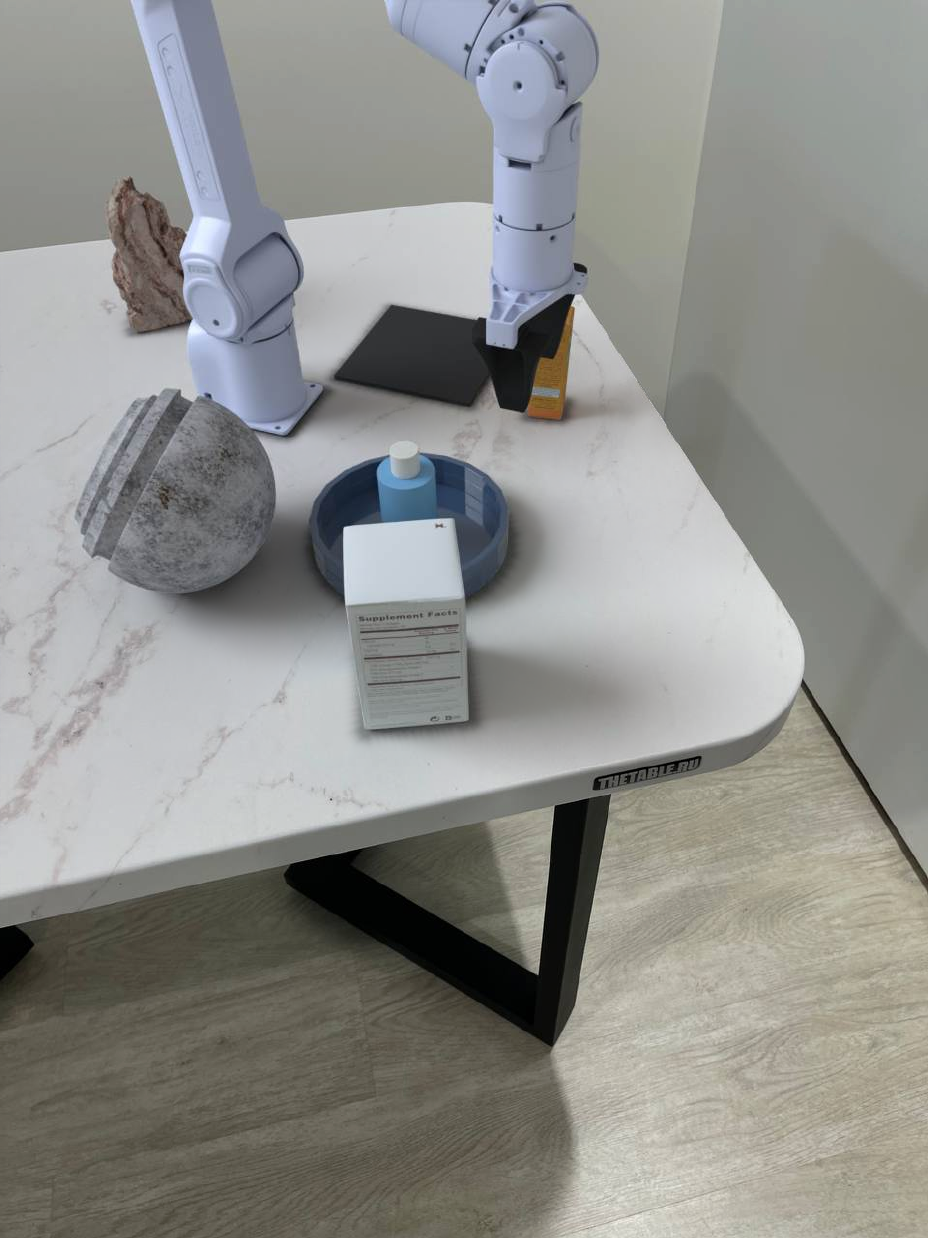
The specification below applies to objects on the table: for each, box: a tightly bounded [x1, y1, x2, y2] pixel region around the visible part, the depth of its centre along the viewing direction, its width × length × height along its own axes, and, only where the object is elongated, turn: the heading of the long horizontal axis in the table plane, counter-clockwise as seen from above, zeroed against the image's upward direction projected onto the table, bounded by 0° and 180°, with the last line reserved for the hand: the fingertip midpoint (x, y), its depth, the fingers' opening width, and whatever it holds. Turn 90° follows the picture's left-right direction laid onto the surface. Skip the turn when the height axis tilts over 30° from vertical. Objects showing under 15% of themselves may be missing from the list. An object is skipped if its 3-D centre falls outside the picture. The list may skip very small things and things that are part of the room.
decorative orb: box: [73, 387, 277, 594], centre depth 75 cm, size 15×14×15 cm
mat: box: [333, 304, 490, 407], centre depth 101 cm, size 14×14×1 cm
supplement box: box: [526, 305, 576, 421], centre depth 90 cm, size 3×3×10 cm
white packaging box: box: [343, 518, 470, 730], centre depth 67 cm, size 7×7×13 cm
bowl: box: [308, 452, 510, 599], centre depth 81 cm, size 16×16×3 cm
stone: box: [104, 176, 193, 333], centre depth 102 cm, size 15×8×10 cm
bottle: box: [377, 440, 437, 523], centre depth 78 cm, size 4×4×9 cm
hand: (528, 380), depth 80 cm, fingers open, 7 cm apart
